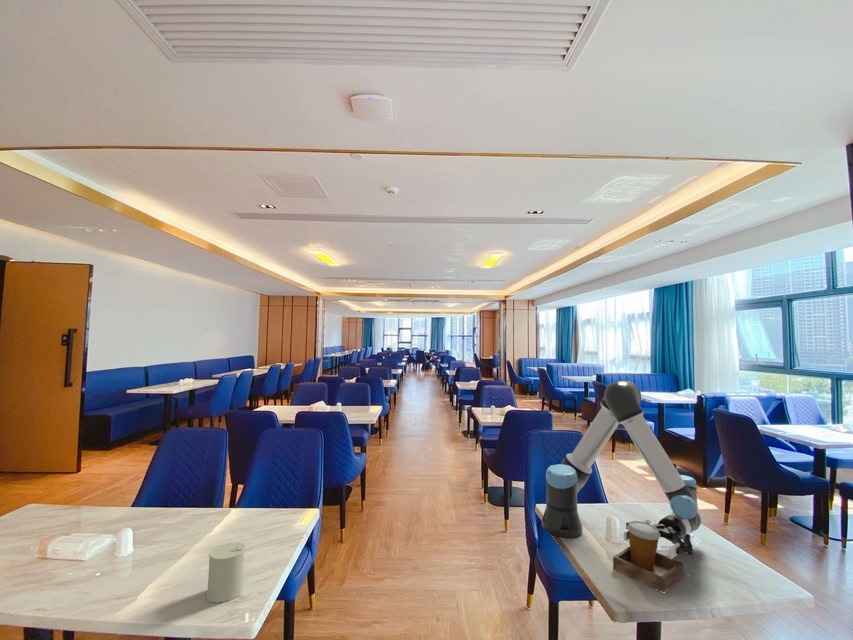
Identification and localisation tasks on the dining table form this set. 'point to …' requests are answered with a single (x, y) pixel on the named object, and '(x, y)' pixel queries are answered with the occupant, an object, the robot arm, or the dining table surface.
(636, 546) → the disposable coffee cup
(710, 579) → the dining table surface
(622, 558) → the cup tray
